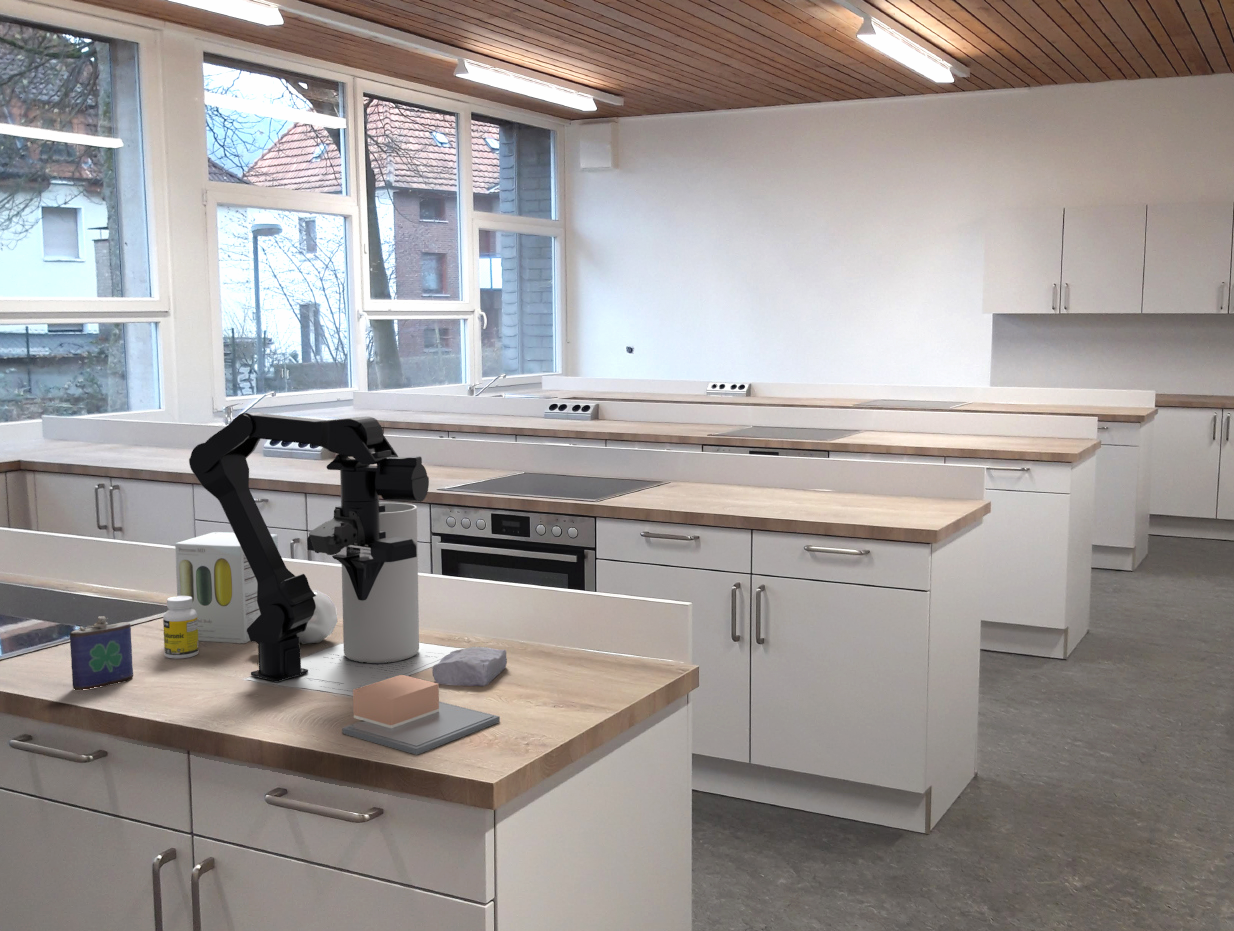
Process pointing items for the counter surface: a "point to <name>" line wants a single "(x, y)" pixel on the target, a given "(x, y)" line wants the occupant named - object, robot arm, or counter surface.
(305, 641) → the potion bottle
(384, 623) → the cylinder vase
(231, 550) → the supplement box
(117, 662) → the flask
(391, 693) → the salmon orange block
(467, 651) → the stone block
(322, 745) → the counter surface
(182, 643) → the supplement bottle
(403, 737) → the slate board
